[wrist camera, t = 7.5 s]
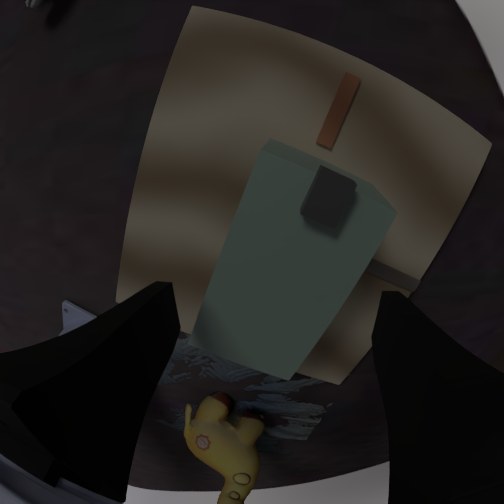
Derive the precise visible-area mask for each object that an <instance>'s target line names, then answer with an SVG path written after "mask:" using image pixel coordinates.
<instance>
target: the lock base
mask: <svg viewBox="0 0 504 504" xmlns="http://www.w3.org/2000/svg"><path fill="white" fill-rule="evenodd" d="M270 138H272V139H274V140H277V141H279V142H282V143H284V144H286V145H289V146H291V147H294V148H296V149H298V150H301V151H303V152H305V153H308V154H310V155H312V156H314V157H317V158H319V159H321V160H323V161H326V162H328V163H330V164H332V165H334V166H336V167H338V168H341V169H343V170H345V171H347V172H349V173H351V174H353V175H355V176H357V177H359V178H361V179H363V180H365V181H367V182H369V183H371V184H373V185H374V186H375V188H376V189H377V190H378V191H379V192H380V193H381V194H382V195H383V196H384V198H385V199H386V200H387V201H388V202H389V203H390V204H391V205H392V207H393V208H394V209H395V210H396V211H397V212H398V213H397V215H396V217H395V219H394V221H393V222H392V224H391V226H390V228H389V230H388V231H387V233H386V235H385V237H384V238H383V240H382V242H381V244H380V245H379V247H378V249H377V251H376V252H375V254H374V256H373V257H372V259H371V261H370V262H369V264H368V266H367V267H366V269H365V271H364V272H363V274H362V275H361V277H360V279H359V280H358V282H357V283H356V285H355V287H354V288H353V290H352V291H351V293H350V294H349V296H348V297H347V299H346V301H345V302H344V304H343V305H342V307H341V308H340V310H339V311H338V313H337V314H336V316H335V317H334V319H333V320H332V322H331V323H330V325H329V326H328V327H327V329H326V330H325V332H324V333H323V335H322V336H321V337H320V339H319V340H318V342H317V343H316V345H315V346H314V347H313V349H312V350H311V352H310V353H309V354H308V356H307V357H306V358H305V360H304V361H303V362H302V364H301V365H300V366H299V368H298V369H297V371H296V372H297V373H300V374H303V375H307V376H310V377H313V378H317V379H320V380H324V381H327V382H331V383H334V384H338V385H340V383H341V382H342V381H343V380H344V379H345V378H346V377H347V375H348V374H349V373H350V372H351V371H352V370H353V369H354V367H355V366H356V365H357V364H358V363H359V361H360V360H361V359H362V358H363V357H364V355H365V354H366V353H367V352H368V350H369V349H370V348H371V347H372V340H371V336H372V332H373V328H374V324H375V320H376V316H377V312H378V307H379V303H380V298H381V294H382V291H399V292H401V293H402V294H403V295H404V296H405V297H407V298H408V297H409V295H410V294H411V293H412V291H413V292H414V291H415V290H416V288H417V287H418V285H419V284H420V282H421V281H420V279H421V278H422V276H423V275H424V273H425V271H426V270H427V268H428V267H429V265H430V264H431V262H432V260H433V259H434V257H435V255H436V254H437V252H438V250H439V249H440V247H441V245H442V244H443V242H444V240H445V239H446V237H447V235H448V233H449V232H450V230H451V228H452V226H453V224H454V223H455V221H456V219H457V217H458V215H459V213H460V212H461V210H462V208H463V206H464V204H465V202H466V200H467V198H468V196H469V194H470V192H471V190H472V188H473V186H474V184H475V182H476V180H477V177H478V175H479V173H480V171H481V169H482V167H483V164H484V162H485V160H486V157H487V155H488V153H489V150H490V148H491V146H492V143H491V142H489V141H488V140H487V139H486V138H485V137H483V136H482V135H481V134H480V133H478V132H477V131H476V130H474V129H473V128H472V127H470V126H469V125H468V124H467V123H465V122H464V121H462V120H461V119H460V118H458V117H457V116H456V115H454V114H453V113H451V112H450V111H448V110H447V109H445V108H444V107H443V106H441V105H440V104H438V103H437V102H435V101H433V100H432V99H430V98H429V97H427V96H426V95H424V94H422V93H421V92H419V91H418V90H416V89H414V88H413V87H411V86H409V85H408V84H406V83H404V82H402V81H401V80H399V79H397V78H395V77H393V76H392V75H390V74H388V73H386V72H384V71H382V70H380V69H378V68H376V67H375V66H373V65H371V64H369V63H366V62H364V61H362V60H360V59H358V58H356V57H354V56H352V55H350V54H347V53H345V52H343V51H341V50H338V49H336V48H334V47H331V46H329V45H327V44H324V43H322V42H319V41H317V40H314V39H311V38H309V37H306V36H303V35H301V34H298V33H295V32H292V31H289V30H286V29H283V28H280V27H277V26H274V25H271V24H267V23H264V22H261V21H257V20H254V19H250V18H246V17H242V16H238V15H234V14H230V13H226V12H221V11H217V10H212V9H207V8H202V7H196V6H192V8H191V10H190V12H189V15H188V17H187V19H186V22H185V24H184V27H183V29H182V32H181V34H180V37H179V39H178V42H177V44H176V47H175V50H174V52H173V55H172V58H171V60H170V63H169V66H168V69H167V72H166V74H165V77H164V80H163V83H162V86H161V89H160V93H159V96H158V99H157V102H156V105H155V109H154V112H153V115H152V119H151V122H150V126H149V129H148V133H147V136H146V140H145V144H144V148H143V152H142V156H141V160H140V164H139V168H138V172H137V177H136V181H135V185H134V190H133V195H132V200H131V205H130V210H129V215H128V220H127V226H126V231H125V237H124V243H123V250H122V256H121V263H120V270H119V278H118V286H117V295H116V302H118V303H121V302H123V301H124V300H126V299H127V298H129V297H131V296H132V295H134V294H135V293H137V292H138V291H140V290H142V289H143V288H145V287H147V286H148V285H150V284H152V283H154V282H156V281H163V282H172V284H173V290H174V295H175V301H176V306H177V311H178V316H179V321H180V326H181V329H180V330H181V331H183V332H185V333H188V334H190V335H191V333H192V330H193V327H194V325H195V322H196V319H197V316H198V313H199V310H200V308H201V305H202V302H203V299H204V297H205V294H206V291H207V288H208V286H209V283H210V280H211V277H212V275H213V272H214V269H215V266H216V264H217V261H218V258H219V256H220V253H221V250H222V248H223V245H224V242H225V240H226V237H227V234H228V232H229V229H230V226H231V224H232V221H233V219H234V216H235V213H236V211H237V208H238V206H239V203H240V200H241V198H242V195H243V193H244V190H245V188H246V185H247V182H248V180H249V177H250V175H251V172H252V170H253V167H254V165H255V162H256V160H257V157H258V155H259V152H260V150H261V148H262V147H263V146H264V145H265V144H266V143H267V142H268V140H269V139H270Z"/></svg>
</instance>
